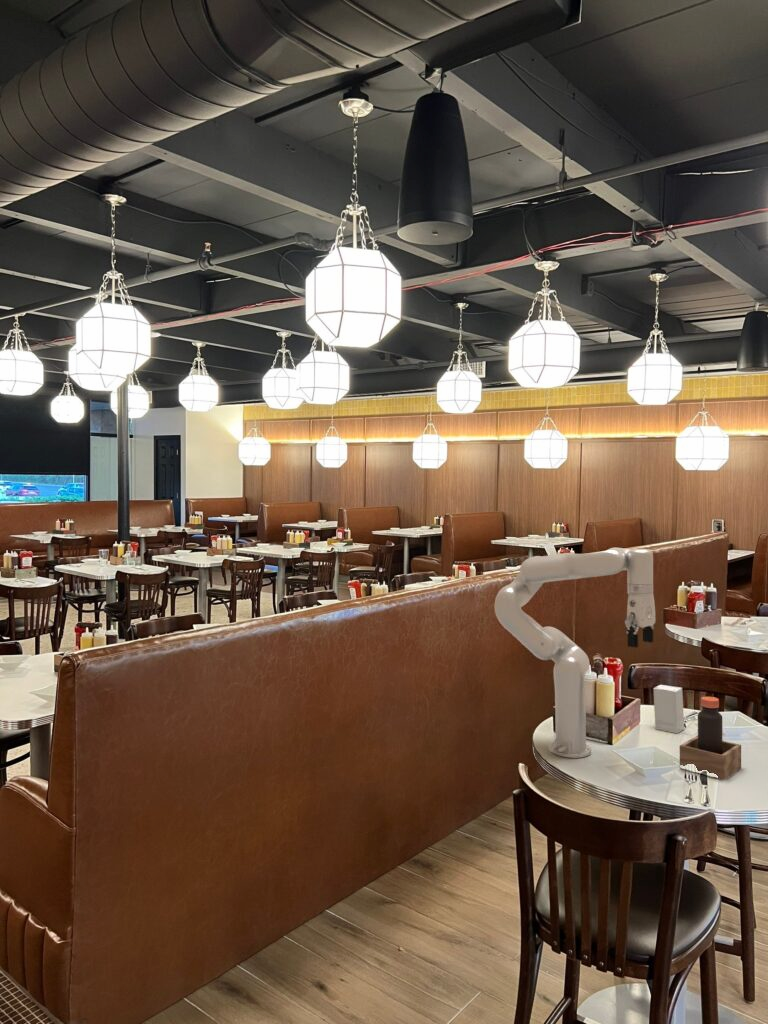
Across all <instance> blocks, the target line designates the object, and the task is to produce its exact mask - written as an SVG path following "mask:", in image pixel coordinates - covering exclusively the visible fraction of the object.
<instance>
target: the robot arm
mask: <svg viewBox="0 0 768 1024" xmlns="http://www.w3.org/2000/svg"><path fill="white" fill-rule="evenodd" d="M653 554H654V553H653V551H652V550H651V549H647V548H631V549H630V548H623V547H610V548H608V549H606V550H602V551H594V552H589V553H586V552H585V553H574V552H562V553H557V554H549V555H543V556H540V555H534V556H531V557H529V558H527V559H524V561H523V562H522V563H521V565H520V568H519V573H518V574H517V575H516V576H515V578H513V580H512V582H510V583H509V584H506V585H505V586H503V587H502V588H500V590H499V591H498V592H497V594H496V596H495V599H494V600H495V601H494V614H495V617H496V618H497V620H498V622H499V624H501V626H502V627H503V628H504V629H505V630H506V631H508V633H510V634H511V635H512V636H513V637H514V638H515V639H516V640H517V641H519V642H520V644H521V645H523V647H525V648H526V649H527V650H529V652H530V653H532V655H533V656H535V657H536V658H537V659H540V660H542V661H548V660H552V661H553V662H554V666H553V683H554V685H553V686H554V703H555V704H554V705H555V707H554V710H555V714H554V715H555V739H554V743H553V744H551V745H549V746H548V750H549V751H550V752H551V753H553V754H554V755H557V756H559V757H563V758H567V759H568V758H570V759H576V758H577V759H579V758H584V757H585V758H586V757H588V756H590V755H591V753H592V748H591V747H590V746H589V745H587V717H586V715H587V708H586V707H587V706H586V701H587V700H586V684H585V683H586V682H585V681H586V680H585V678H586V674H587V673H588V671H589V668H590V659H589V656H588V655H587V653H586V652H585V651H584V650H583V649H582V648H581V647H580V646H578V644H576V643H575V642H574V641H573V640H571V639H570V638H569V636H567V635H566V634H565V633H564V632H562V631H561V630H560V629H557V628H556V627H553V626H544V627H543V626H542V625H541V624H540V623H538V622H537V621H536V620H535V619H534V618H533V617H531V616H530V615H529V614H527V613H526V612H525V611H523V609H522V607H524V606H525V605H527V604H528V603H529V601H530V600H531V599H532V598H533V597H534V595H535V594H536V593H537V592H538V591H539V590H540V588H541V587H542V585H543V584H545V583H550V582H558V581H559V582H560V581H566V580H567V581H568V580H578V579H585V578H586V579H587V578H593V577H594V578H596V577H604V576H612V575H616V574H618V573H620V572H622V571H627V576H626V577H627V580H626V581H627V584H626V585H627V586H626V587H627V594H628V597H627V605H626V606H627V608H626V619H625V621H624V625H625V630H626V634H627V647H630V648H638V647H639V634H638V631H639V628H641V629H642V641H643V642H645V643H653V642H654V629H655V626H654V625H655V624H656V606H655V605H656V603H655V598H654V597H655V596H654V555H653Z"/></svg>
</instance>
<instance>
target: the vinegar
mask: <svg viewBox="0 0 768 1024" xmlns="http://www.w3.org/2000/svg"><path fill="white" fill-rule="evenodd" d="M700 705H701V708H702V710H700V711H699V712H698V713H697V735H698V749H700V750H705V751H709V752H713V753H717V754H721V755H722V741H723V715H722V714H721V713H720V712H719V709H720V707H719V706H720V699H719V698H718V697H715V696H702V697H701V698H700Z"/></svg>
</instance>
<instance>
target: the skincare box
mask: <svg viewBox="0 0 768 1024" xmlns="http://www.w3.org/2000/svg"><path fill="white" fill-rule="evenodd" d="M683 698H684V696H683V687H679V686H672V685H665V684H659V685H657V686H655V687H654V688H653V707H654V710H653V711H654V727H655V728H654V729H655V730H661V731H664V732H668V733H674V734H678V733H680V732H683V731H685V730H684V729H685V720H684V719H685V717H684V699H683Z"/></svg>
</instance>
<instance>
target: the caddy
mask: <svg viewBox="0 0 768 1024" xmlns="http://www.w3.org/2000/svg"><path fill="white" fill-rule="evenodd" d="M687 764H694V765H695V766H696V768H697V770H698V771H702V770H707V771H708V772H709V773H714V774H716V775H717V776H718V778H719V779H718V780H720V781H721V780H722V781H725V780H726V779H728V778H730V776H732V775H733V774H735V773H737V772H738V771H739V770H741V769H742V744H739V743H734V742H729V741H725V740H722V755H721V754H717V753H713V752H709V751H705V750H700V749H698V734H697V735H696V736H694V737H692V738H691V739H689V740H687V741H685V742H684V743H682V744H680V745H679V766H680V765H683V766H685V765H687Z"/></svg>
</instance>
